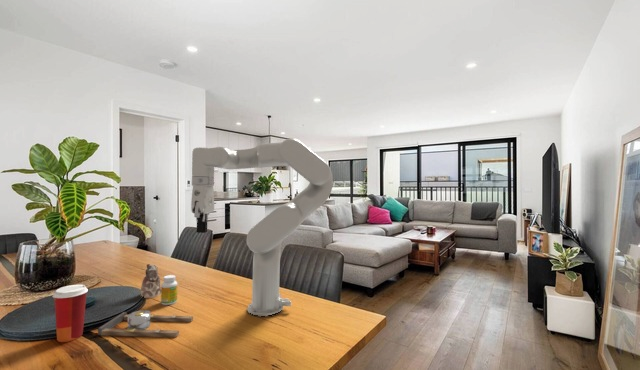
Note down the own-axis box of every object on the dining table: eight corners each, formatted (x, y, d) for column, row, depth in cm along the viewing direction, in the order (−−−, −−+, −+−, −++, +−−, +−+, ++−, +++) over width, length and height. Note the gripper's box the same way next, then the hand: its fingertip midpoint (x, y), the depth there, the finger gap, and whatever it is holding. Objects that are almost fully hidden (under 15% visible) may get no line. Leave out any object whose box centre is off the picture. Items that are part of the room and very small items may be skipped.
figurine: (145, 299, 112) (145, 268, 112) (137, 295, 117) (137, 264, 117) (164, 294, 118) (164, 264, 118) (156, 290, 122) (156, 261, 122)
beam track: (193, 319, 97) (193, 313, 97) (176, 337, 86) (176, 330, 86) (123, 318, 97) (123, 311, 97) (97, 335, 86) (98, 328, 86)
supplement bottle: (170, 306, 107) (170, 279, 107) (157, 304, 108) (158, 278, 108) (180, 300, 112) (180, 275, 112) (167, 299, 114) (168, 273, 114)
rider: (154, 322, 94) (154, 309, 94) (143, 332, 88) (143, 317, 88) (135, 322, 94) (135, 309, 94) (122, 331, 88) (123, 317, 88)
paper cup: (85, 327, 90) (86, 282, 90) (88, 337, 85) (89, 288, 85) (50, 336, 85) (51, 288, 84) (52, 347, 79) (53, 295, 79)
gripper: (205, 181, 100) (203, 236, 100) (220, 182, 115) (219, 229, 115) (182, 181, 100) (181, 235, 100) (201, 181, 115) (200, 229, 115)
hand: (201, 232), depth 107 cm, fingers closed
